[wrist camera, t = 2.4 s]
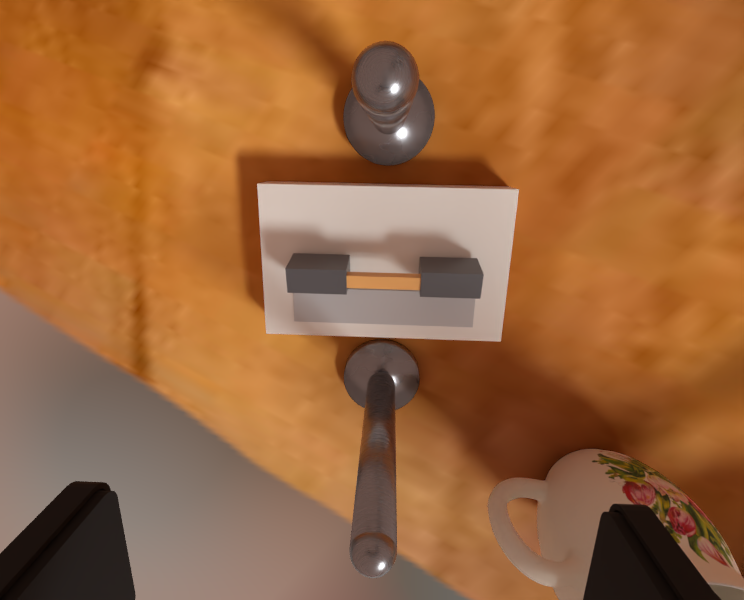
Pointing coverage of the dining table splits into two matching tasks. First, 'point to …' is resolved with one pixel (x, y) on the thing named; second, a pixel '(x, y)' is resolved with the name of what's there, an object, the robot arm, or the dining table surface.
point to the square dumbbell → (384, 276)
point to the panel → (386, 255)
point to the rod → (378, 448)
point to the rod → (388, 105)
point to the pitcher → (582, 516)
